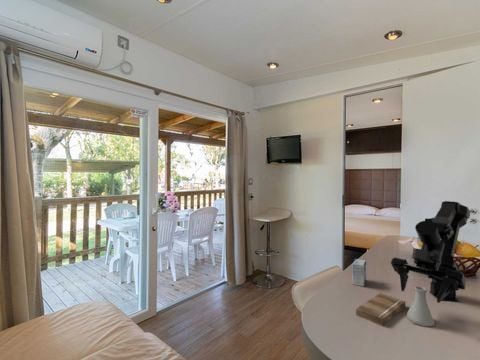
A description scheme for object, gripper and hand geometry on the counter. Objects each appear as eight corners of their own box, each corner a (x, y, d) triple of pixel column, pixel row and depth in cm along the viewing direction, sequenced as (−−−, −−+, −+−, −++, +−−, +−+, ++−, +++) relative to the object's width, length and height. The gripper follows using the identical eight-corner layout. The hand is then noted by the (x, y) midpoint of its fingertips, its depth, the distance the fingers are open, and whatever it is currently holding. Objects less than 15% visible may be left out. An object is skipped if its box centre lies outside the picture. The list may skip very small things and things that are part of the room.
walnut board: (380, 298, 93) (380, 292, 93) (405, 306, 87) (405, 300, 87) (356, 314, 82) (356, 308, 82) (382, 326, 76) (382, 319, 76)
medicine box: (364, 287, 103) (364, 265, 103) (352, 284, 105) (352, 263, 105) (366, 280, 110) (366, 260, 109) (354, 278, 112) (355, 258, 112)
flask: (440, 328, 74) (440, 294, 74) (412, 325, 76) (412, 292, 76) (427, 315, 81) (427, 284, 81) (402, 313, 83) (402, 282, 83)
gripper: (393, 233, 88) (378, 273, 81) (464, 244, 74) (454, 293, 67) (401, 252, 93) (389, 290, 86) (469, 266, 79) (460, 313, 72)
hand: (419, 296), depth 78 cm, fingers open, 9 cm apart
